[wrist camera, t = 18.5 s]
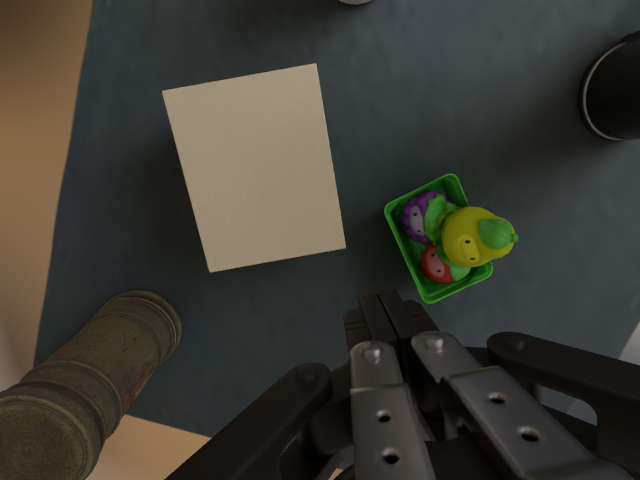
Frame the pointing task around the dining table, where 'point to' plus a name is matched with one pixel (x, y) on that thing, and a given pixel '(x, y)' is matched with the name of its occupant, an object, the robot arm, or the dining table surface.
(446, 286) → the fruit basket
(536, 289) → the dining table surface
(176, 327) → the container
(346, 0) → the pill bottle
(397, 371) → the robot arm
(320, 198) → the lid
